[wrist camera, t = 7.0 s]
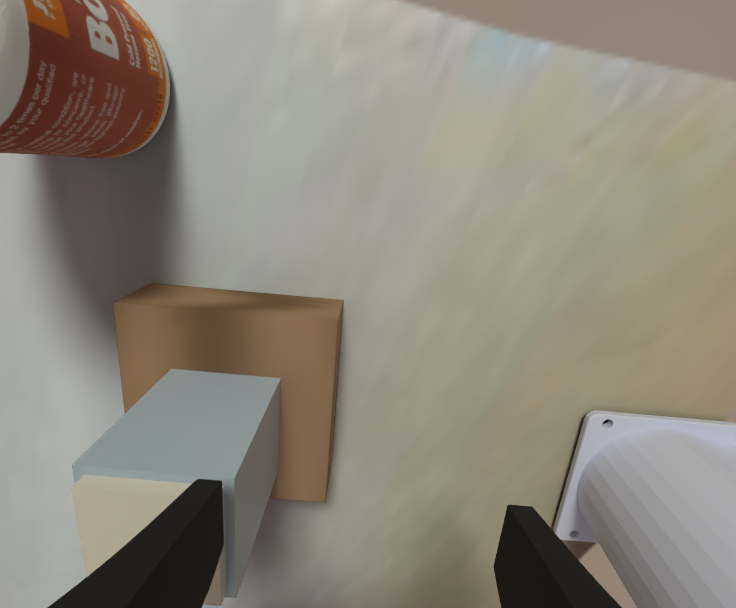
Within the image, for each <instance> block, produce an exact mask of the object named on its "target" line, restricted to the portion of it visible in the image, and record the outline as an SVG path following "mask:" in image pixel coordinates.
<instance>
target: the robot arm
mask: <svg viewBox="0 0 736 608" xmlns="http://www.w3.org/2000/svg"><path fill="white" fill-rule="evenodd" d="M608 419H609V421H608V422H607V423H605V424H602V423H603V422H604V421H605V420H608ZM553 531H554V532H553ZM572 531H573V532H572ZM560 539H561V540H569V541H581V542H593V543H599V544H600V545H601V547H602V549H603V550H604V552H605V554H606V555H607V557H608V559H609V560H610V562H611V564H612V565H613V567H614V569H615V570H616V572H617V574H618V575H619V577H620V579H621V580H622V582H623V584H624V585H625V587H626V589H627V591H628V592H629V594H630V596H631V597H632V599H633V601H634V602H635V604H636V605H637V607H638V608H736V423H735V422H724V421H712V420H701V419H689V418H678V417H666V416H655V415H643V414H632V413H620V412H609V411H597V410H596V411H591V412H589V413H588V414H587V415H586V416H585V418H584V421H583V425H582V428H581V432H580V435H579V439H578V443H577V446H576V450H575V453H574V457H573V460H572V464H571V467H570V471H569V474H568V478H567V481H566V485H565V489H564V492H563V496H562V499H561V503H560V506H559V510H558V513H557V517H556V520H555V524H554V527H553V530H552V529H551V528H550V527H549V526H548V525H547V523H546V522H545V521H544V520H543V519H542V518H541V516H540V515H539V514H538V513H537V512H536V511H535V510H534V508H533V507H529V506H518V505H508V506H507V510H506V515H505V519H504V523H503V528H502V532H501V536H500V541H499V545H498V549H497V554H496V558H495V563H494V572H495V577H496V582H497V588H498V593H499V598H500V603H501V608H621V607H620V605H619V604H618V603H617V602H616V601H615V600H614V599H613V598H612V597H611V596H610V595H609V594H608V593H607V592H606V591H605V589H604V588H603V587H602V586H601V585H600V584H599V583H598V582H597V581H596V580H595V579H594V577H593V576H592V575H591V574H590V573H589V572H588V571H587V570H586V568H585V567H584V566H583V565H582V564H581V563H580V562H579V561H578V559H577V558H576V557H575V556H574V555H573V554H572V553H571V551H570V550H569V549H568V548H567V547H566V546H565V544H564V543H563V542H562V541H561V540H560ZM223 546H224V526H223V493H222V481H220V480H208V479H197V480H196V481H194V482H193V483H192V484H191V485H190V486H189V487H188V488H187V489H186V490H185V491H184V492H183V493H181V494H180V495H179V496H178V497H177V498H176V499H175V500H174V501H173V502H172V503H171V504H170V505H169V506H168V507H167V508H166V509H164V510H163V511H162V512H161V513H160V514H159V515H158V516H157V517H156V518H155V519H154V520H153V521H152V522H150V523H149V524H148V525H147V526H146V527H145V528H144V529H143V530H141V531H140V532H139V533H138V534H137V535H136V536H135V537H134V538H132V539H131V540H130V541H129V542H128V543H127V544H126V545H125V546H123V547H122V548H121V549H120V550H119V551H118V552H117V553H115V554H114V555H113V556H112V557H111V558H109V559H108V560H107V561H106V562H104V563H103V564H102V565H101V566H100V567H98V568H97V569H96V570H95V571H94V572H92V573H91V574H90V575H89V576H87V577H86V578H85V579H84V580H83V581H81V582H80V583H79V584H78V585H76V586H75V587H74V588H73V589H71V590H70V591H69V592H67V593H66V594H65V595H64V596H62V597H61V598H60V599H58V600H57V601H56V602H54V603H53V604H52V605H50V606H49V607H48V608H201V607H202V605H203V603H204V600H205V598H206V596H207V593H208V591H209V589H210V586H211V583H212V580H213V577H214V574H215V571H216V568H217V565H218V562H219V558H220V555H221V552H222V549H223Z"/></svg>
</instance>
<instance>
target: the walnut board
mask: <svg viewBox="0 0 736 608" xmlns="http://www.w3.org/2000/svg"><path fill="white" fill-rule="evenodd" d="M113 308H114V317H115V327H116V336H117V345H118V355H119V364H120V373H121V383H122V392H123V401H124V411H125V413H126V412H127V411H128V410H129V409H130V408H131V407H132V406H134V405H135V404H136V403H137V402H138V401H139V400H140V399H141V398H142V397H143V396H144V395H145V394H146V393H147V392H148V391H149V390H150V389H151V388H152V387H153V386H154V385H155V384H156V383H157V382H158V381H159V380H160V379H161V378H162V377H163V376H165V375H166V374H167V373H168V372H169V371H170V370H171V369H179V370H191V371H202V372H214V373H226V374H237V375H249V376H261V377H272V378H281V390H280V434H279V469H278V472H277V475H276V478H275V482H274V485H273V488H272V491H271V494H270V497H269V498H276V499H288V500H300V501H311V502H323V503H325V502H326V495H327V489H328V483H329V476H330V470H331V463H332V453H333V439H334V425H335V411H336V397H337V382H338V368H339V354H340V340H341V326H342V312H343V300H335V299H324V298H312V297H301V296H290V295H278V294H267V293H256V292H244V291H233V290H222V289H210V288H199V287H188V286H176V285H165V284H153V283H151V284H149V285H147V286H145V287H143V288H141V289H139V290H137V291H135V292H133V293H131V294H129V295H127V296H125V297H123V298H121V299H119V300H117V301H115V302H113Z"/></svg>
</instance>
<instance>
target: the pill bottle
mask: <svg viewBox="0 0 736 608" xmlns="http://www.w3.org/2000/svg"><path fill="white" fill-rule="evenodd" d="M169 97H170V78H169V71H168V66H167V62H166V59H165V55H164V53H163V50H162V47H161V45H160V43H159V41H158V39H157V37H156V36H155V34H154V32H153V31H152V29H151V28H150V26H149V25H148V24H147V22H146V21H145V20H144V18H143V17H142V16H141V15H140V14H139V13H138V12H137V11H136V10H135V9H134V8H133V7H132V6H131V5H129V4H128V3H127V2H126V1H124V0H0V153H19V154H39V155H55V156H56V155H57V156H74V157H89V158H112V157H119V156H123V155H127V154H130V153H132V152H134V151H136V150H138V149H140V148H142V147H143V146H144V145H146V144H147V143H148V142H149V141H150V140H151V139H152V138H153V137H154V136H155V135H156V133H157V132H158V130H159V129H160V127H161V125H162V123H163V121H164V119H165V116H166V113H167V109H168V105H169Z"/></svg>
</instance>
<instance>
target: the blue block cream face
mask: <svg viewBox="0 0 736 608" xmlns="http://www.w3.org/2000/svg"><path fill="white" fill-rule="evenodd" d="M280 390H281V378H272V377H261V376H249V375H237V374H226V373H214V372H202V371H191V370H179V369H171V370H170V371H169V372H168V373H167V374H166V375H165V376H163V377H162V378H161V379H160V380H159V381H158V382H157V383H156V384H155V385H154V386H153V387H152V388H151V389H150V390H149V391H148V392H147V393H146V394H145V395H144V396H143V397H142V398H141V399H140V400H139V401H138V402H137V403H136V404H135V405H134V406H132V407H131V408H130V409H129V410H128V411H127V412H126V413H125V414H124V415H123V416H122V417H121V418H120V419H119V420H118V421H117V422H116V423H115V424H114V425H113V426H112V427H111V428H110V429H109V430H108V431H107V432H106V433H105V434H104V435H102V436H101V437H100V438H99V439H98V440H97V441H96V442H95V443H94V444H93V445H92V446H91V447H90V448H89V449H88V450H87V451H86V452H85V453H84V454H83V455H82V456H81V457H80V458H79V459H78V460H77V461H76V462H75V463H74V464H73V465H72V469H73V475H74V481H75V484H74V485H73V486H72V493H73V499H74V505H75V511H76V517H77V523H78V530H79V536H80V542H81V548H82V554H83V560H84V566H85V572H86V577H87V576H89V575H90V574H91V573H92V572H94V571H95V570H96V569H97V568H98V567H100V566H101V565H102V564H103V563H104V562H106V561H107V560H108V559H109V558H111V557H112V556H113V555H114V554H115V553H117V552H118V551H119V550H120V549H121V548H122V547H123V546H125V545H126V544H127V543H128V542H129V541H130V540H131V539H132V538H134V537H135V536H136V535H137V534H138V533H139V532H140V531H141V530H143V529H144V528H145V527H146V526H147V525H148V524H149V523H150V522H152V521H153V520H154V519H155V518H156V517H157V516H158V515H159V514H160V513H161V512H162V511H163V510H164V509H166V508H167V507H168V506H169V505H170V504H171V503H172V502H173V501H174V500H175V499H176V498H177V497H178V496H179V495H180V494H181V493H183V492H184V491H185V490H186V489H187V488H188V487H189V486H190V485H191V484H192V483H193V482H194V481H196V480H197V479H208V480H220V481H222V493H223V526H224V546H223V549H222V552H221V555H220V558H219V562H218V565H217V568H216V571H215V574H214V577H213V580H212V583H211V586H210V589H209V591H208V593H207V596H206V598H205V600H204V603H203V604H207V605H219V606H221V604H222V601H223V599H224V597H234V598H236V597H237V594H238V591H239V588H240V585H241V582H242V579H243V576H244V573H245V570H246V567H247V564H248V560H249V557H250V554H251V551H252V548H253V545H254V542H255V539H256V536H257V533H258V530H259V527H260V524H261V521H262V518H263V515H264V512H265V509H266V506H267V503H268V500H269V497H270V494H271V491H272V488H273V485H274V482H275V478H276V475H277V472H278V469H279V434H280Z"/></svg>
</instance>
